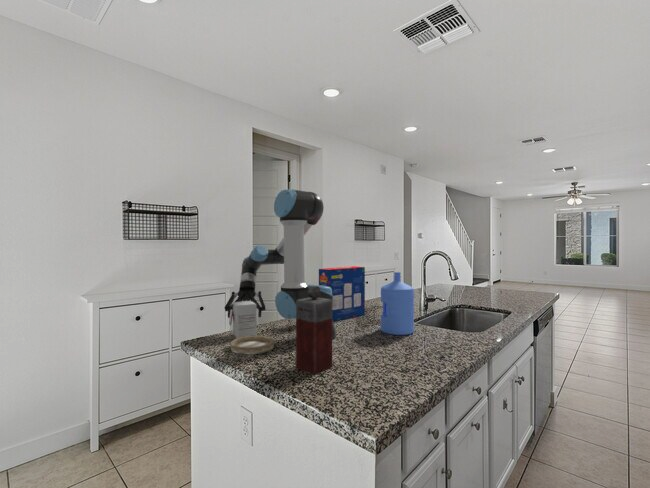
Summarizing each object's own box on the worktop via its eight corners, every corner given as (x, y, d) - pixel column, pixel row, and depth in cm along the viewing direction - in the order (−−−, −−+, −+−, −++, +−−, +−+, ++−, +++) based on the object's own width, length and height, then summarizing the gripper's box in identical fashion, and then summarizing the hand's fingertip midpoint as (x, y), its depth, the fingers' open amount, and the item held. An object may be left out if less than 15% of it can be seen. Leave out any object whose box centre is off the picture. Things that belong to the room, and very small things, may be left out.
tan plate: (278, 342, 148) (278, 336, 148) (265, 355, 131) (265, 349, 131) (241, 340, 151) (241, 334, 151) (223, 353, 134) (223, 346, 134)
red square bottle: (309, 359, 127) (309, 282, 126) (332, 367, 119) (332, 285, 119) (291, 366, 120) (291, 285, 120) (314, 374, 112) (314, 288, 112)
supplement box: (232, 334, 160) (232, 301, 160) (251, 332, 164) (251, 300, 164) (236, 339, 152) (236, 305, 152) (256, 336, 156) (256, 303, 156)
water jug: (418, 329, 168) (418, 272, 168) (407, 337, 155) (407, 274, 155) (388, 325, 177) (388, 270, 176) (375, 332, 163) (375, 273, 163)
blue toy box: (354, 313, 206) (354, 266, 206) (364, 315, 200) (364, 267, 200) (318, 320, 188) (318, 268, 188) (328, 323, 182) (328, 269, 182)
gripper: (272, 288, 174) (270, 327, 159) (224, 289, 172) (217, 328, 157) (271, 279, 169) (269, 318, 154) (222, 279, 167) (215, 319, 152)
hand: (243, 323), depth 155 cm, fingers closed on supplement box, 11 cm apart
